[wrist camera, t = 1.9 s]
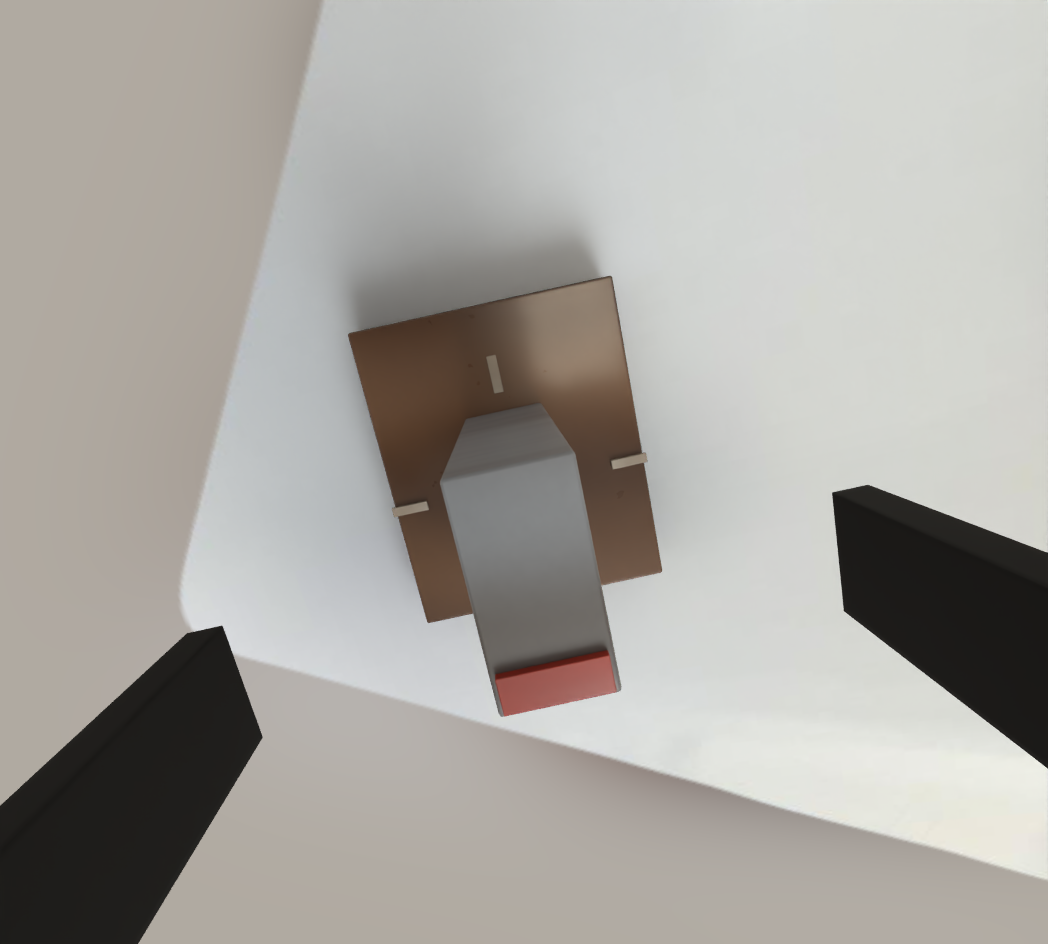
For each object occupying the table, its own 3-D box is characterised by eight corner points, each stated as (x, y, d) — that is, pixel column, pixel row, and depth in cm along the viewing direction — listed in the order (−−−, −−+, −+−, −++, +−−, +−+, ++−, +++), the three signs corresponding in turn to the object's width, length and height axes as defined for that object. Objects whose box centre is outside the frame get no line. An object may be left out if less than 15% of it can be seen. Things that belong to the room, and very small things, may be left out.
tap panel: (357, 334, 23) (342, 334, 21) (605, 280, 23) (615, 273, 21) (431, 605, 26) (425, 628, 24) (653, 556, 26) (666, 576, 24)
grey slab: (464, 418, 22) (437, 482, 12) (541, 401, 22) (576, 452, 12) (499, 562, 24) (499, 725, 14) (571, 546, 24) (624, 698, 14)
